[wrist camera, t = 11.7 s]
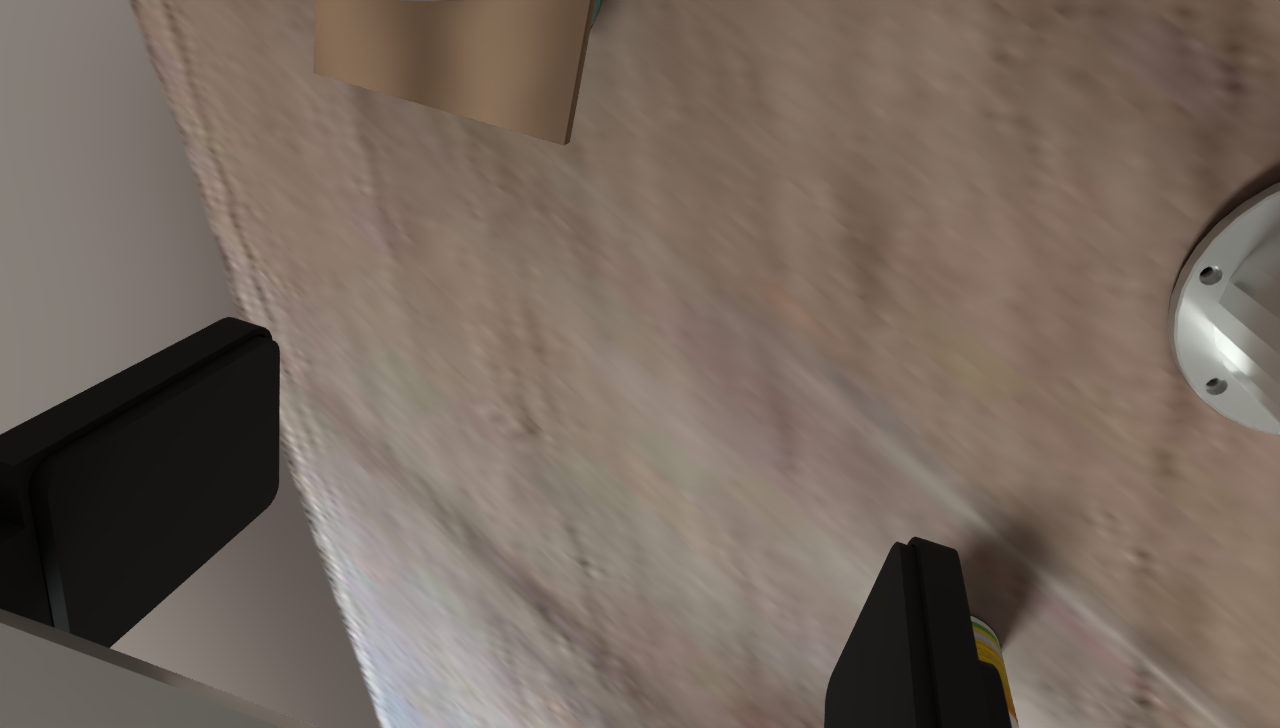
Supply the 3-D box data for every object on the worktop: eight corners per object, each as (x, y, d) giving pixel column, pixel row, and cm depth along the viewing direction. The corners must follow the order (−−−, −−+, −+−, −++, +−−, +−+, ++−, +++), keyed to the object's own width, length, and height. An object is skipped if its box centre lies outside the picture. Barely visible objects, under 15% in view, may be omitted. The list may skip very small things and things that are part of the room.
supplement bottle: (928, 595, 47) (946, 730, 38) (1017, 630, 46) (1055, 776, 38) (888, 656, 49) (896, 796, 41) (972, 690, 49) (998, 840, 40)
